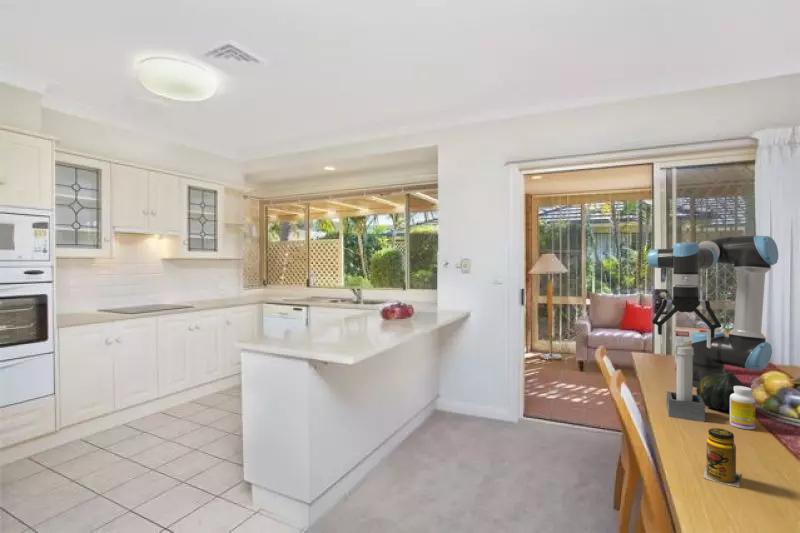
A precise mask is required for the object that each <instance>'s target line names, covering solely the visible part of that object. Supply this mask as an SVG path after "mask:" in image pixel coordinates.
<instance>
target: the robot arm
mask: <svg viewBox="0 0 800 533" xmlns="http://www.w3.org/2000/svg"><path fill="white" fill-rule="evenodd" d="M646 256H647V257H646V260H647V261H646V262H647V264H648V266H649V267H650V268H654V269H672V270H673V271H672V284H673V285H674V286H673V287H672V299H667V298H663V299H662V303H661V306H660V307H659V308H658V310H657V312H656V314H655V315H654V317H653V318H652V321H651V322H652V324H653V325H656V326H657V335H659V336H660V335H661V336H660V338H661V341H660V343H661V345H662V346H663V345H665V325H664V324H665V323H666V322H667V321H669V320H670V318H671V317H673V316H674V315H675V314H676V313H677V312H680V313H688V314H690V313H695V314H696V315H697V316H698V317H699V318H700V319H701V320H702V321H703V322H704V323H705V324H706V326H708V327H707V328H706V329H707V332H698V333H694V334H693V335H692V341H691V347H693V353H694V355H692V387H696V388H697V385H698V384H699V382H700V381H701V380H702V379H703V378H704V377H706V376H708V375H712V374H717V373H721V372H726V371H725V370H726V369H725V366H730V367H736V368H741V369H745V370H750V371H752V370H753V371H757V372H758V371H762V370H764V369H766V367H767V366H769V364H770V362H771V358H772V355H773V349H772V348H773V347H772V345H771V343H770V342H768V341H766V340H767V337H766V336H765V335H764V334H763V333H762V325H763V311H764V297H765V296H764V294H765V281H766V273H768V272H769V271H770V270H771V268H772V267H771V266H773V265H776V264H778V260H779V249H778V244H777V243H776V241H775V240H774V239H773V238H772V237H771V236H769V235H746V236H745V235H744V236H724V237H719V238H715V239H714V238H713V239H709V240H705V241H701V242H699V243H698V242H676V243H675V244H673V247H671V248H662V249H661V248H657V249H656V248H654V249H651V250H649V251H648V252H647V254H646ZM717 264H723V265H733V269H734V270H736V272H737V279H736V281H737V283H736V294H735V310H734V322H733V323H734V324H733V330H732V331H730V332H729V333H728V336H726V334H725V332H721V331H716V329H719V328H720V329H721V327H722V325H721V323H720V321H719V320H718V318H717V316H716V314H715V312H714V311H713V309H712V307H711V302H710V300H708V299H705V300H700V298H699V270H707V269H711V268H713V267H715V265H717ZM697 286H698V287H697ZM670 304H672V306H673V307H672V308H671V309H670V311H669V312H668V313H667V314H665V315H664V316H663V317H662V318H661V319H660V317H661V316H662V315H663V313H664V311H665V309H666V308H667V306H669V305H670ZM700 305H702V307H704V308H705V310H706V311H707V313H708V315H709V317H710V318H711V320H712V321H713V323H711V321H709V319H708V318H707V317H705V315H704V314H703V313H701V311H700V310H699V309H698V307H699V306H700ZM659 319H660V320H659Z"/></svg>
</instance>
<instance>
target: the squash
mask: <svg viewBox="0 0 800 533" xmlns="http://www.w3.org/2000/svg"><path fill="white" fill-rule="evenodd" d="M734 386H744V387H746V386H745V385H744V383H743V382H742V381H741V380H740V379H739V378H738V377H737V376H736V375H735V374H734V373H732V372H731V371H725V372H721V373H717V374H712V375H708V376H706V377H704V378H703V379H702V380H701V381H700V382H699V384H698V385H697V387H696V391H695V392H696V395H700V396H701V398H702V400H703V402H704V404H705V407H707V408H712V409H716V410H719V409H720V410H722V411H726V412H728V413H730V395H731V394H733V393H734V390H733V389H734Z"/></svg>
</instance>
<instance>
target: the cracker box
mask: <svg viewBox="0 0 800 533" xmlns="http://www.w3.org/2000/svg"><path fill="white" fill-rule="evenodd" d="M674 328H675V330H674V332H675V331H676V332H677V333H676V332H675V334H674V335H675V336H674V370H675V371H677V354H676V353H675V351H676V346H678V345H684V344H685V346H690V347H691V341H692V335H693V334H694V333H698V332H707V328H697V327H696V328H694V327H684V326H683V327H682V326H674ZM678 333H679V334H680V335H679V334H678ZM681 337H682V338H683V340H682V338H681ZM683 341H684V343H683Z"/></svg>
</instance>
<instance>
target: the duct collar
mask: <svg viewBox="0 0 800 533" xmlns="http://www.w3.org/2000/svg"><path fill="white" fill-rule="evenodd" d="M666 411H667V414H668V415H667V416H668V417H669V418H676V419H681V420H682V419H683V420H688V421H696V422H706V406H705V404H704V402H703V400H702V398H701V396H700V395H697V394H693V393H692V402H690V401H682V400H677V391H676V392H674V391H666Z"/></svg>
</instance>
